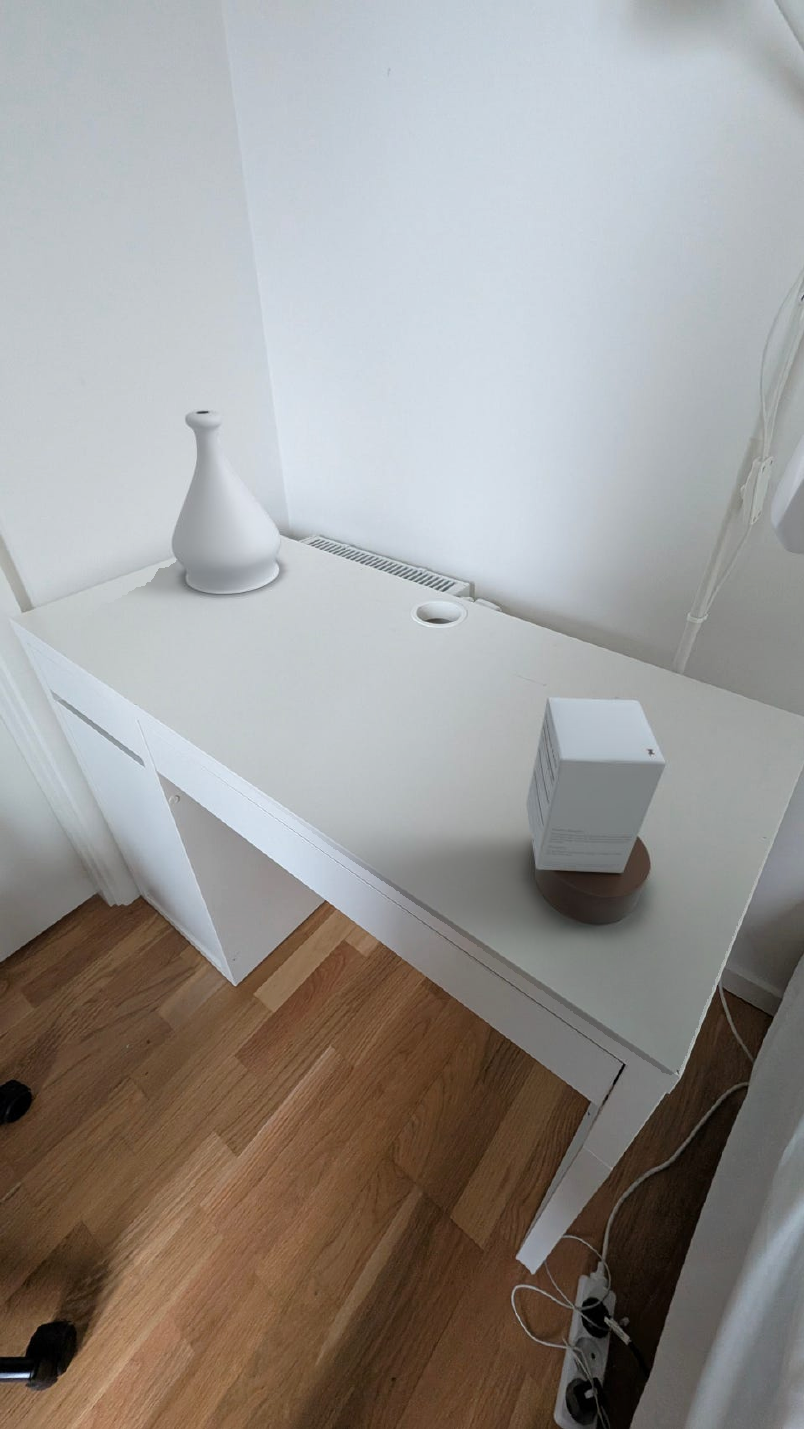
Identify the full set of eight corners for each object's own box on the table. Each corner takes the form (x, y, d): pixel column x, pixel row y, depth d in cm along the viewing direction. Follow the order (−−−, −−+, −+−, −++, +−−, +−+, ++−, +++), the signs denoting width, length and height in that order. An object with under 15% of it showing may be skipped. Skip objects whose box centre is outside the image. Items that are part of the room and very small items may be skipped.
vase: (165, 568, 100) (122, 408, 85) (257, 544, 109) (234, 395, 93) (203, 607, 90) (162, 433, 74) (302, 578, 98) (284, 415, 82)
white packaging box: (605, 808, 53) (642, 698, 45) (623, 876, 47) (670, 764, 39) (523, 803, 53) (546, 693, 45) (532, 870, 47) (560, 758, 40)
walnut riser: (641, 856, 54) (654, 828, 51) (633, 940, 47) (647, 912, 45) (545, 827, 56) (552, 799, 54) (524, 903, 50) (531, 875, 47)
